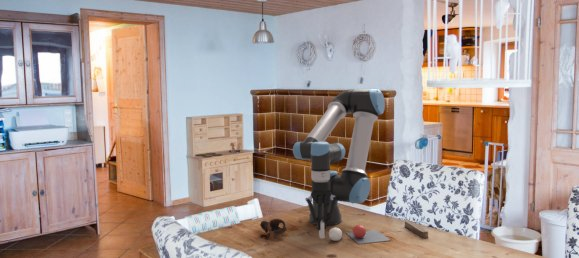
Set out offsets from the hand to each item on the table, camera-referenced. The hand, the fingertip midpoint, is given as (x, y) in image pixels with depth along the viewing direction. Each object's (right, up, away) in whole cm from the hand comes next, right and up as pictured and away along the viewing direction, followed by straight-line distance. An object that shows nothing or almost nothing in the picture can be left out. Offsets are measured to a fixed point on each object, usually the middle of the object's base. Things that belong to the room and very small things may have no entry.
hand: (321, 237), depth 194 cm
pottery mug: (-20, -2, +10) cm, 22 cm away
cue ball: (+6, +1, +1) cm, 6 cm away
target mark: (+19, -1, +5) cm, 20 cm away
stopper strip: (+41, 0, +10) cm, 42 cm away
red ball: (+16, +2, +4) cm, 16 cm away
